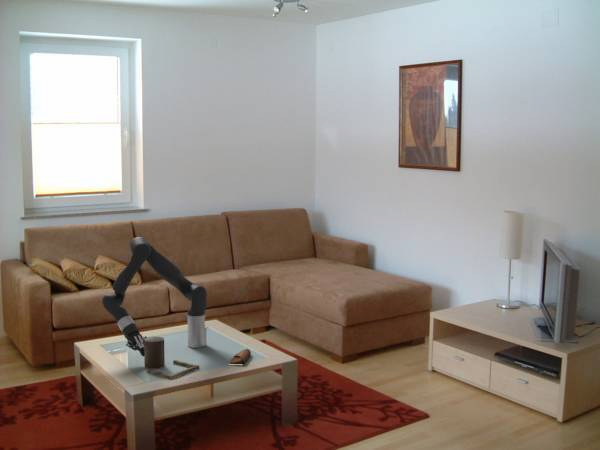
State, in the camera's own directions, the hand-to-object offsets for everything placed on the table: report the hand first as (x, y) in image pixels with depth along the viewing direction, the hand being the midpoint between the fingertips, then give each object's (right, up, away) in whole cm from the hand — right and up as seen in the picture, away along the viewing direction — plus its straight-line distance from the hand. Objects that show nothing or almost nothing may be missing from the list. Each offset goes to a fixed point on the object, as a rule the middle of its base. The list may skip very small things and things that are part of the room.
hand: (145, 355), depth 351 cm
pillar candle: (+5, -5, -1) cm, 7 cm away
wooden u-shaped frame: (+15, -6, -8) cm, 18 cm away
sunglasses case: (+46, -5, +9) cm, 47 cm away
